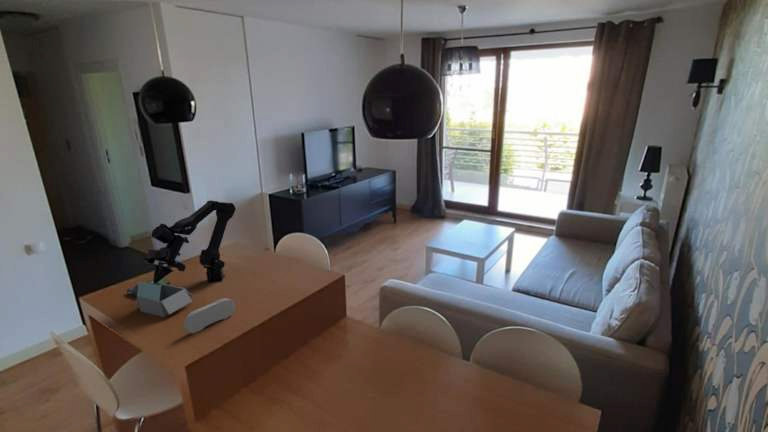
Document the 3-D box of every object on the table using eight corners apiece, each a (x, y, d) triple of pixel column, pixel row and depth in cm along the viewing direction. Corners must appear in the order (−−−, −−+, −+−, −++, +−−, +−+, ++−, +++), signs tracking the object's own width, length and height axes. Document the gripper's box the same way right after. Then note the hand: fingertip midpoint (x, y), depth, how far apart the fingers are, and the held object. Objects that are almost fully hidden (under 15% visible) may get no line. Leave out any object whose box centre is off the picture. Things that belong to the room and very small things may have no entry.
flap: (139, 281, 160) (138, 281, 160) (161, 285, 155) (160, 285, 155) (138, 295, 160) (137, 295, 160) (159, 300, 155) (158, 300, 155)
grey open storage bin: (167, 293, 177) (164, 279, 175) (200, 301, 169) (197, 286, 167) (135, 310, 164) (131, 295, 161) (169, 319, 155) (165, 303, 153)
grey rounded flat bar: (233, 312, 158) (230, 294, 156) (236, 314, 157) (233, 295, 155) (185, 335, 144) (180, 315, 142) (188, 337, 143) (183, 317, 140)
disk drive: (138, 300, 173) (171, 286, 185) (136, 295, 172) (170, 281, 184) (127, 295, 179) (160, 281, 190) (126, 289, 178) (158, 276, 189)
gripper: (142, 237, 163) (122, 272, 157) (173, 242, 156) (154, 279, 149) (163, 248, 172) (145, 282, 166) (193, 253, 165) (176, 288, 158)
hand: (154, 282), depth 159 cm, fingers closed
